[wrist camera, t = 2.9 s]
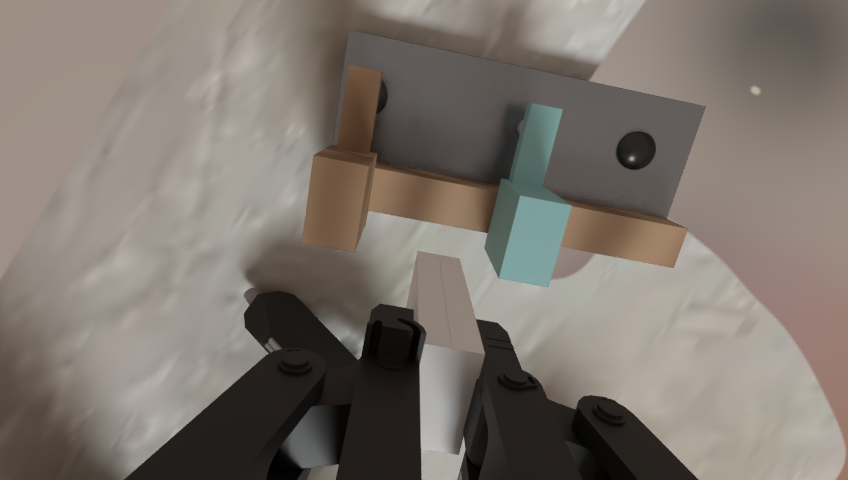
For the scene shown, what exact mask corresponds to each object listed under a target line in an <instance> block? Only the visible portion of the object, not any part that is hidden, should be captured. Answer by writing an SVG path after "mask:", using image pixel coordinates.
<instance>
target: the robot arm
mask: <svg viewBox="0 0 848 480" xmlns="http://www.w3.org/2000/svg"><path fill="white" fill-rule="evenodd" d="M463 437H464V440H465V448H466V450H465V454H464V458H463V461H462V465H461V469H460V473H459V476H458V480H698V479H697V478H696V477H695V476H694V475H693V474H692V473H691V472H690V471H689V470H688V469H687V468H686V467H685V466H684V465H683V464H682V463H681V462H680V461H679V460H678V459H677V458H676V456H675V455H674V454H673V453H672V452H671V451H670V450H669V449H668V448H667V447H666V446H665V445H664V444H663V443H662V442H661V441H660V440H659V439H658V438H657V437H656V436H655V435H654V434H653V433H652V432H651V431H650V430H649V429H648V428H647V427H646V426H645V425H644V424H643V423H642V422H641V421H640V420H639V419H638V418H637V417H636V416H635V415H634V414H633V413H631V412H630V411H629V410H628V409H627V408H625V407H624V406H622V405H620V404H618V403H617V402H616V401H614V400H611V399H608V398H606V397H599V396H592V395H591V396H584V397H582V398H581V399H580V400H579V401H578V404H577V407H576V410H575V409H572V408H569V407H566V406H564V405H561V404H558V403H556V402H553V401H551V400H548V399H547V397H546V394H545V392H544V390H543V387H542V385H541V384H540V383H539V381H538V380H537V379H536V378H535V377H533V376H532V375H531V374H529V373H527V372H525V371H523V370H522V369H521V366H520V363H519V361H518V358H517V356H516V353H515V351H514V348H513V345H512V343H511V340H510V338H509V335H508V333H507V331H505V330H504V329H503V328H502V327H501V326H500V325H499V324H498V323H495V322H489V321H484V320H478V319H476V318H475V315H474V311H473V307H472V303H471V300H470V296H469V292H468V288H467V285H466V281H465V277H464V274H463V270H462V266H461V262H460V259H458V258H453V257H448V256H442V255H437V254H431V253H426V252H420V251H418V253H417V258H416V262H415V267H414V272H413V277H412V282H411V287H410V292H409V297H408V302H407V307H406V308H402V307H396V306H391V305H385V304H379V305H378V306H377V307H375V308H374V309H373V310H372V312H371V316H370V320H369V322H368V323H367V328H366V334H365V339H364V345H363V350H362V356H361V358H360V359H359V360H358V361H357V362H355V363H353V364H351V365H349V366H345V367H339V368H327V365H326V362H325V360H324V359H323V358H322V357H321V356H320V355H319V354H317V353H314V352H312V351H310V350H306V349H301V348H284V349H280V350H275V351H273V352H271V353H270V354H268V355H266V356H265V357H264V358H263V359H261V360H260V361H259V362H258V363H257V364H256V365H255V366H253V367H252V368H251V369H250V370H249V371H248V372H247V373H245V374H244V375H243V376H242V377H241V378H240V379H239V380H237V381H236V382H235V383H234V384H233V385H232V386H231V387H229V388H228V389H227V390H226V391H225V392H224V393H223V394H221V395H220V396H219V397H218V398H217V399H216V400H215V401H213V402H212V403H211V404H210V405H209V406H208V407H207V408H205V409H204V410H203V411H202V412H201V413H200V414H199V415H197V416H196V417H195V418H194V419H193V420H192V421H191V422H189V423H188V424H187V425H186V426H185V427H184V428H183V429H181V430H180V431H179V432H178V433H177V434H176V435H175V436H174V437H172V438H171V439H170V440H169V441H168V442H167V443H166V444H164V445H163V446H162V447H161V448H160V449H159V450H158V451H156V452H155V453H154V454H153V455H152V456H151V457H150V458H148V459H147V460H146V461H145V462H144V463H143V464H142V465H140V466H139V467H138V468H137V469H136V470H135V471H134V472H132V473H131V474H130V475H129V476H128V477H127V478H126V479H124V480H307V478H308V476H309V473H310V470H311V467H319V466H328V465H336V464H339V467H338V472H337V477H336V480H421V449H425V450H432V451H438V452H444V453H451V454H457V455H459V452H460V448H461V444H462V440H463Z"/></svg>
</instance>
